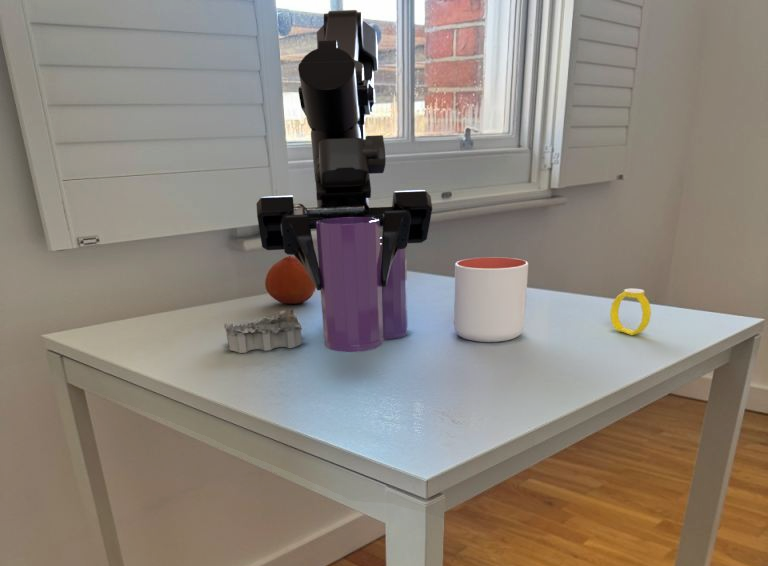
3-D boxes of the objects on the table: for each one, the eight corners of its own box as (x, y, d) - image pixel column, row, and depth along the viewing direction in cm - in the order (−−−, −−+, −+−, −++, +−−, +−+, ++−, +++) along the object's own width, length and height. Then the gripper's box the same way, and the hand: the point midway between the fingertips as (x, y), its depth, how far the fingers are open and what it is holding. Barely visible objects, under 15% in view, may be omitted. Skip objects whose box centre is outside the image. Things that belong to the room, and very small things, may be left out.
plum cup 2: (353, 336, 103) (349, 242, 97) (378, 326, 108) (375, 236, 101) (391, 341, 99) (389, 245, 93) (415, 331, 104) (414, 238, 98)
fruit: (290, 296, 130) (286, 251, 126) (327, 300, 126) (323, 253, 122) (256, 305, 124) (251, 258, 120) (293, 310, 119) (289, 261, 116)
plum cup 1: (312, 345, 79) (302, 221, 73) (354, 333, 83) (348, 215, 77) (353, 355, 75) (347, 225, 69) (395, 342, 79) (392, 218, 73)
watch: (604, 330, 101) (609, 288, 99) (617, 327, 103) (623, 285, 100) (637, 338, 97) (644, 294, 94) (651, 335, 98) (657, 292, 95)
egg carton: (299, 336, 104) (296, 308, 102) (304, 348, 98) (302, 319, 96) (226, 341, 102) (222, 313, 100) (227, 355, 96) (223, 324, 94)
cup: (522, 345, 96) (527, 269, 91) (449, 343, 98) (451, 268, 93) (524, 327, 104) (529, 257, 100) (457, 326, 106) (459, 257, 101)
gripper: (246, 109, 70) (254, 241, 66) (429, 104, 72) (449, 231, 68) (258, 189, 81) (266, 307, 77) (417, 183, 83) (434, 298, 78)
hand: (351, 286), depth 75 cm, fingers closed on plum cup 1, 7 cm apart
